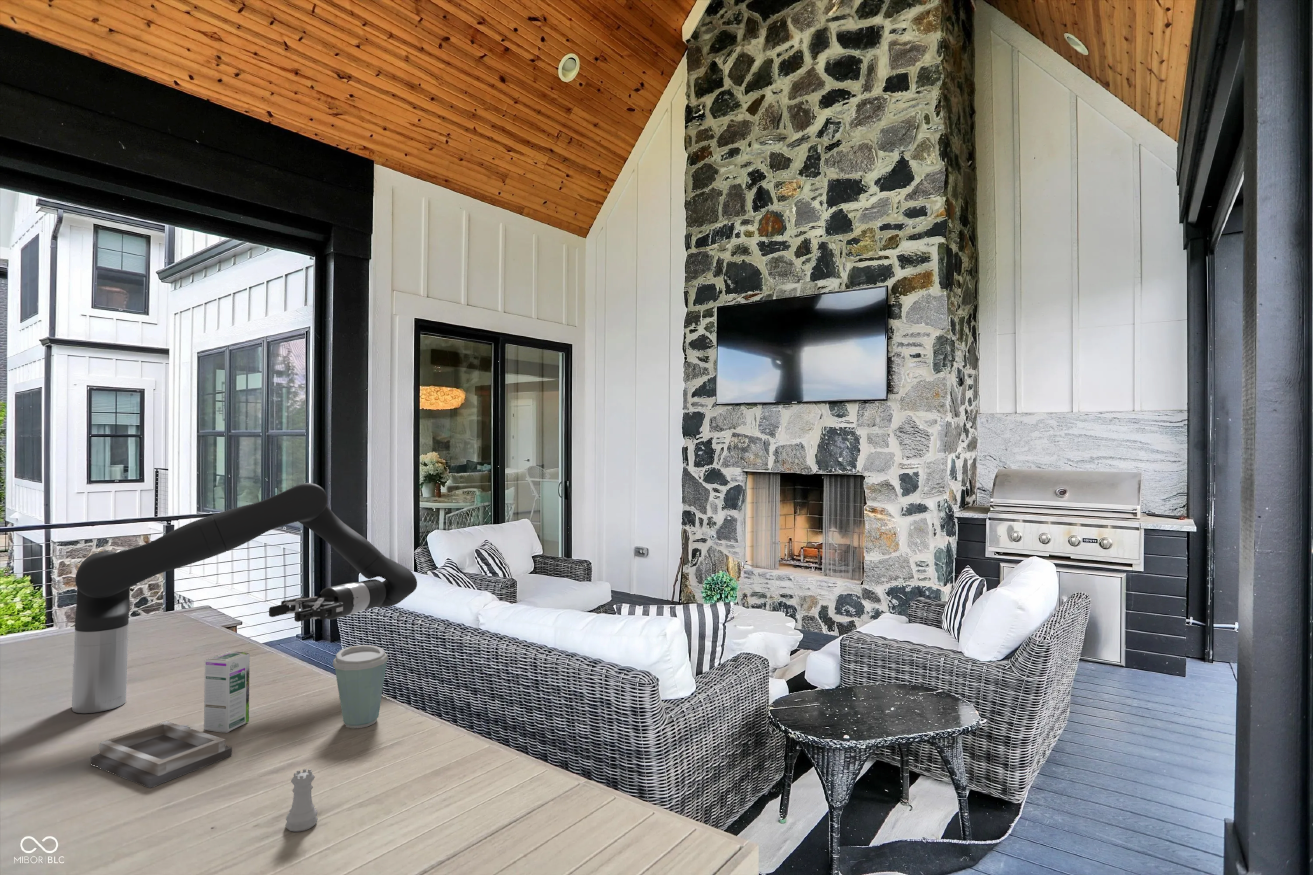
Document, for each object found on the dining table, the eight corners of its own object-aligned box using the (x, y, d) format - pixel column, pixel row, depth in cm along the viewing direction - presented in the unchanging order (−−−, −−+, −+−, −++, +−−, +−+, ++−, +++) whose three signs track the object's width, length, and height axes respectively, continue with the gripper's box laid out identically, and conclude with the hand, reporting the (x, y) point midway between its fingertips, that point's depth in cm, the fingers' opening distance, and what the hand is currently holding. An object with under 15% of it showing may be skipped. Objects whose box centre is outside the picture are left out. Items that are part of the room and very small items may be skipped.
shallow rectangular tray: (90, 764, 125) (91, 745, 125) (173, 736, 138) (173, 718, 138) (150, 787, 118) (150, 766, 118) (231, 755, 130) (232, 736, 130)
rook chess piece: (292, 817, 109) (294, 766, 110) (322, 816, 110) (323, 765, 110) (279, 833, 105) (281, 779, 105) (310, 832, 105) (312, 778, 105)
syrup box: (227, 733, 140) (229, 660, 140) (202, 730, 141) (204, 657, 141) (249, 722, 146) (251, 652, 146) (224, 719, 147) (227, 650, 147)
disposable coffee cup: (395, 723, 147) (397, 651, 147) (344, 738, 139) (346, 661, 139) (372, 709, 154) (374, 640, 154) (322, 722, 146) (324, 650, 146)
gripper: (324, 581, 172) (261, 594, 158) (365, 587, 166) (304, 601, 151) (323, 611, 172) (261, 627, 158) (365, 619, 166) (304, 636, 151)
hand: (282, 614), depth 154 cm, fingers open, 8 cm apart
